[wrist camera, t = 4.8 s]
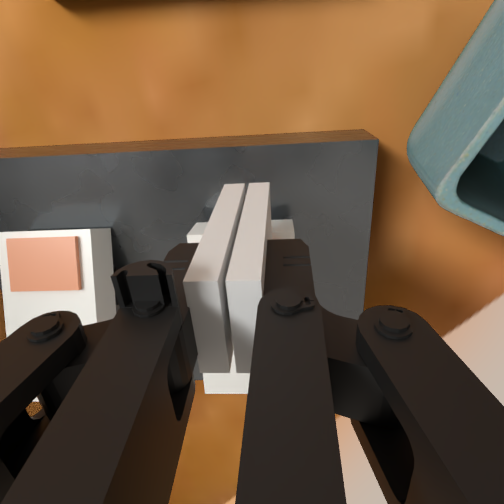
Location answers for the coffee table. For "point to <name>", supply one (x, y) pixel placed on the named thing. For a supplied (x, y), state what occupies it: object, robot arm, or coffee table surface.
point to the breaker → (56, 275)
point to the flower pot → (467, 130)
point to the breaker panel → (204, 196)
